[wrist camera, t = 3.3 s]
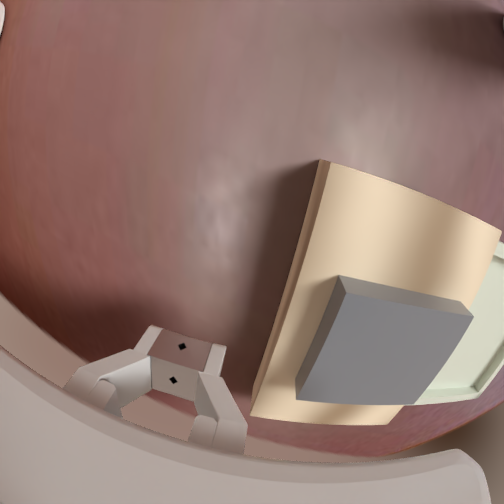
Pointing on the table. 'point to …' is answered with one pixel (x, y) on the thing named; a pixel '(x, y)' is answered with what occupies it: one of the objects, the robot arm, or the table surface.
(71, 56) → the table surface
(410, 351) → the coaster
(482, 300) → the tray
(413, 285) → the tan flat block
